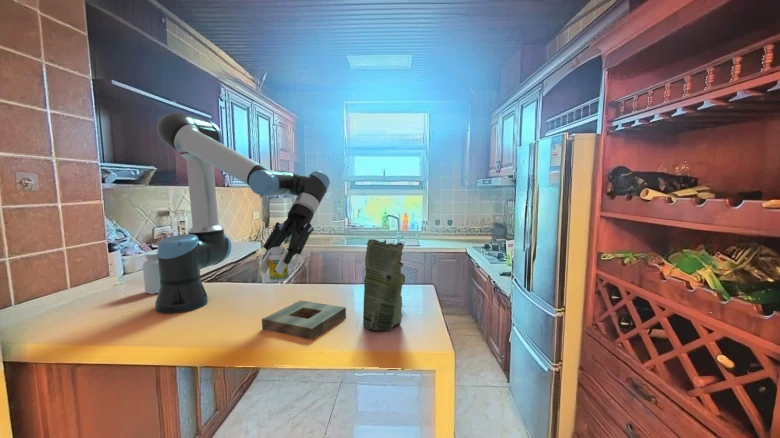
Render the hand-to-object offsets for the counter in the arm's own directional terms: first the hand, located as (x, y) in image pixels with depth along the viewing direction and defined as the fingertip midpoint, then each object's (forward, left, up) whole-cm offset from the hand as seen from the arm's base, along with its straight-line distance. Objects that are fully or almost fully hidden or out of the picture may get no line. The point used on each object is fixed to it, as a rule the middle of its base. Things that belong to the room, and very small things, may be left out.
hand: (269, 271), depth 99 cm
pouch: (+31, +11, -16) cm, 36 cm away
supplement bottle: (0, +4, -4) cm, 5 cm away
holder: (+9, +4, -16) cm, 18 cm away
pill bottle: (-63, +7, -16) cm, 66 cm away
